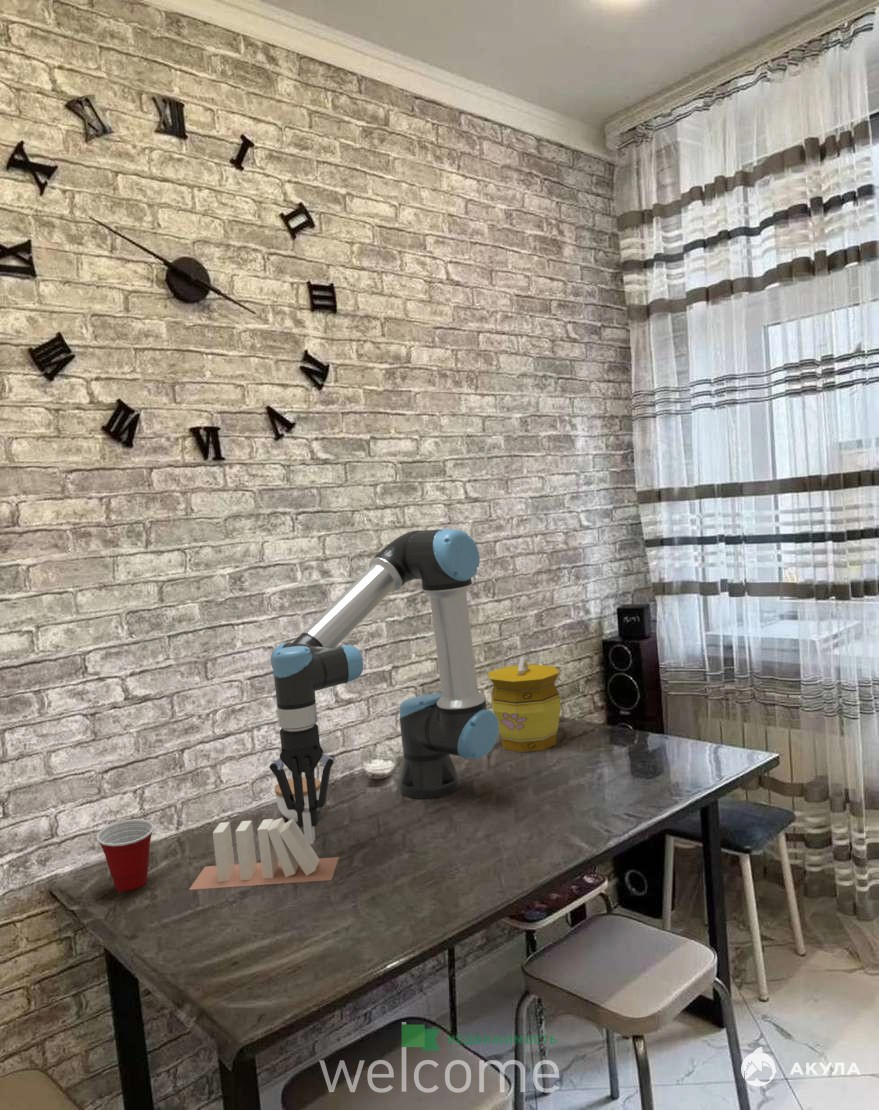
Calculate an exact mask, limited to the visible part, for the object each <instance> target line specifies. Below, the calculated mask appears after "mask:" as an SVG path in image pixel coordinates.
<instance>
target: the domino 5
mask: <svg viewBox="0 0 879 1110" xmlns="http://www.w3.org/2000/svg"><path fill="white" fill-rule="evenodd" d="M300 828H301V827H299V825H298V823H297V822H295V821H294V819H291V820H290V821H289V820H288V821H287V822H285V824H284V826H283V828H282V830H281V832H280V833H279V834H280V836H281V837H282V839H283V840H284V842H285V843H286V845H287V846H288V848H289V849H290V851H291V853H292V854H293V856H294V857H295V859H296V860H297V862H298V863H299V865H300V867H301V868H302V870H303V871H304V873H305V874H306V876H307V875H309V874H311V873H312V872H314V871H315V870H316V867H317V865H318V862H319V857H318V855H317V853H316V852H315V850H314V849H313V847H312V846H311V844H310V845H305V836H304V832H303V831H302V830H301V829H300Z"/></svg>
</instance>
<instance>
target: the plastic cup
mask: <svg viewBox="0 0 879 1110" xmlns="http://www.w3.org/2000/svg"><path fill="white" fill-rule="evenodd" d="M154 829H155V825H154V824H153V822H151V821H149V820H148V819H147V820H146V819H139V818H138V819H126V820H122V821H118V822H114V823H112V824H109V825H107V826H105V827H103V828H102V829H101V830H100V831H98V833H97V834H96V836H95V837H96V840H97V842H98V844H100V847H101V849H102V852H103V854H104V857H105V859H106V863H107V867H108V869H109V872H110V876H111V878H112V881H113V884H114V888H115V890H116V892H117V891H118V892H120V893H119V894H121V893H122V892H130V891H131V892H132V891H134V890H137V889H139V888H141V887H143V886H144V885H146V884H147V882H148V873H149V871H148V870H149V866H150V865H149V864H150V863H149V862H150V849H151V848H150V846H151V840H152V839H151V838H152V834H153V831H154ZM118 892H117V893H118Z"/></svg>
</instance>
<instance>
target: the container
mask: <svg viewBox="0 0 879 1110" xmlns="http://www.w3.org/2000/svg"><path fill="white" fill-rule="evenodd" d="M487 674H488V677H489V680H490V681H491V682H492V684H493V686H492V691H491V694H490V695H491V701H490V705H491V707H492V712H493V713H494V714H495V715H496V716H497V718H498V722H499V732H498V733H499V735H500V741H501V745H502V748H503V750H507V751H512V752H517V753H528V752H529V753H530V752H532V753H533V752H541V751H542V752H543V751H545V750H547V749H550V748H552V747H554V746H556V745H557V744H558V743H557V734H558V729H559V722H560V713H561V706H562V703H561V698H560V693H559V691H558V689H557V687H556V684H555V683H556V681H557V679H558V677H559V675H560V671H559V669H557V667H556V666H554V665H545V664H544V665H543V664H528V662H527V661H526V658H525V657H523V656H521V657H520V658H519V663H518V665H508V666H503V667H500V668H497V669H494V670H490V671H488V672H487Z"/></svg>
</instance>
